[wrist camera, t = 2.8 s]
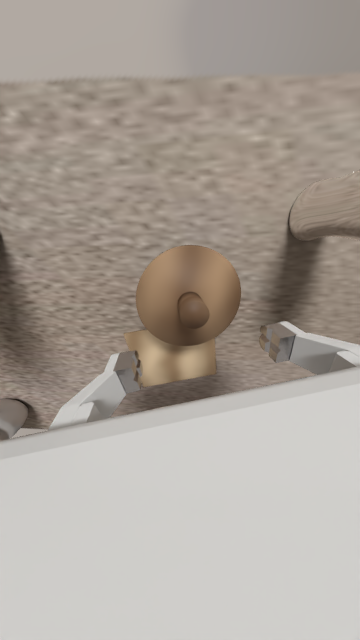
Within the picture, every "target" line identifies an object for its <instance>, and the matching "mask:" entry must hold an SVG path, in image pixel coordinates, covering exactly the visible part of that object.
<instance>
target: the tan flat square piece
mask: <svg viewBox="0 0 360 640" xmlns="http://www.w3.org/2000/svg"><path fill="white" fill-rule="evenodd" d="M124 337H125V340H126V342H127V345H128V347H129V350H130V351H134V350H136V351H137V352H138V354H139V357H138V359H139V360H141V363H142V367H143V374H142V376H141V377H140V378H141V381H142V384H143V387H148V386H153V385H159V384H164V383H170V382H175V381H180V380H186V379H191V378H197V377H202V376H208V375H213V374H216V358H215V338H213V339H212V340H209V341H207V342H205V343H202V344H198V345H193V346H177V345H172V344H169V343H166V342H164V341H161V340H160V339H158V338H156V337H155V336H154V335H152V334H151V333H150V332H149V331H148V330H147V329H146V330H140V331H135V332H129V333H124Z"/></svg>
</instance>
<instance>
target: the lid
mask: <svg viewBox="0 0 360 640" xmlns="http://www.w3.org/2000/svg"><path fill="white" fill-rule="evenodd" d="M240 298H241V287H240V281H239V278H238V275H237V273H236V271H235V269H234V267H233V266H232V265H231V263H230V262H229V261H228V260H227V259H226V258H225V257H224V256H222V255H221V254H220V253H218V252H216V251H214V250H212V249H209V248H206V247H202V246H196V245H185V246H179V247H174V248H172V249H169V250H167V251H165V252H163V253H162V254H160V255H159V256H157V257H156V258H155V259H154V260H153V261H152V262H151V263H150V264H149V265H148V267H147V268H146V269H145V271H144V272H143V274H142V276H141V278H140V281H139V283H138V287H137V292H136V307H137V311H138V314H139V317H140V319H141V321H142V323H143V325H144V326H145V327H146V329H147V330H148V331H149V332H150V333H151V334H152V335H154V336H155V337H156V338H158V339H160V340H161V341H164V342H166V343H169V344H172V345H177V346H193V345H198V344H202V343H205V342H207V341H209V340H212V339H213V338H215V337H217V336H218V335H219V334H221V333H222V332H223V331H224V330H225V329H226V328H227V327H228V326H229V325H230V323H231V322H232V320H233V319H234V317H235V315H236V313H237V310H238V308H239V304H240Z"/></svg>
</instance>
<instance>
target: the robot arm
mask: <svg viewBox="0 0 360 640" xmlns="http://www.w3.org/2000/svg"><path fill="white" fill-rule="evenodd" d="M260 332H261V333H262V335H261V336H260V338H259V343H260V346H261V348H262V349H263V350H264V351H266V352H268V353H269V356H270V357H271V358H272V359H273V360H274V362H275V363H277V362H283V361H289V360H290V362H292V363H294V364H296V365H298V366H300V367H302V368H304V369H306V370H309V371H311V372H313V373H315V374H317V375H315V376H310V377H305V378H300V379H296V380H291V381H286V382H281V383H276V384H271V385H266V386H262V387H257V388H252V389H247V390H242V391H237V392H233V393H228V394H223V395H218V396H213V397H209V398H204V399H199V400H194V401H189V402H185V403H180V404H175V405H170V406H165V407H161V408H156V409H151V410H146V411H141V412H137V413H132V414H127V415H122V416H117V417H113V418H110V416H111V415H112V414H113V412H114V411H115V409H116V408H117V407H118V405H119V404H120V402H121V401H122V400H123V398H124V397H125V395H126V393H130V392H135V391H139V390H140V389H141V382H142V381H141V378H140V377H141V376H142V374H143V367H142V363H141V360H139V359H138V357H139V354H138V352H137V351H136V350H134V351H128V352H122V353H117V354H112V355H111V357H110V359H109V361H108V364H107V366H106V368H105V370H104V373H103V374H100V375H99V376H98V377H97V378H95V379H94V380H93V381H92V382H91V383H89V384H88V385H87V386H86V387H85V388H84V389H82V390H81V391H80V392H79V393H78V394H77V395H75V396H74V397H73V398H72V399H71V400H70V401H68V402H67V403H66V404H65V405H64V406H62V407H61V409H60V411H59V412H58V414H57V416H56V417H55V419H54V421H53V422H52V424H51V426H50V427H49V429H48V431H45V432H40V433H35V434H31V435H26V436H21V437H17V438H12V439H6V440H2V441H0V640H360V345H357V344H353V343H349V342H344V341H340V340H336V339H332V338H328V337H324V336H320V335H315V334H311V333H305V332H303V331H302V330H300V329H299V328H297V327H295V326H294V325H292V324H290V323H289V322H287V321H282V322H278V323H274V324H269V325H264V326H262V327H261V329H260Z"/></svg>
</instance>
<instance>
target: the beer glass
mask: <svg viewBox="0 0 360 640" xmlns="http://www.w3.org/2000/svg"><path fill="white" fill-rule="evenodd" d="M289 227H290V231H291V233H292V234H293V236H294V237H295V238H297V239H299V240H302V241H308V240H313V239H318V238H322V237H331V236H332V237H342V238H348V239H353V240H358V241H360V170H358V171H356V172H353V173H351V174H348V175H345V176H342V177H338V178H330V179H323V180H319V181H316V182H314V183H312V184H311V185H309V186H308V187H307V188H305V189H304V190H303V191H302V192H301V193H300V195H299V196H298V197H297V199H296V201H295V202H294V204H293V207H292V209H291V212H290V217H289Z"/></svg>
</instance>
